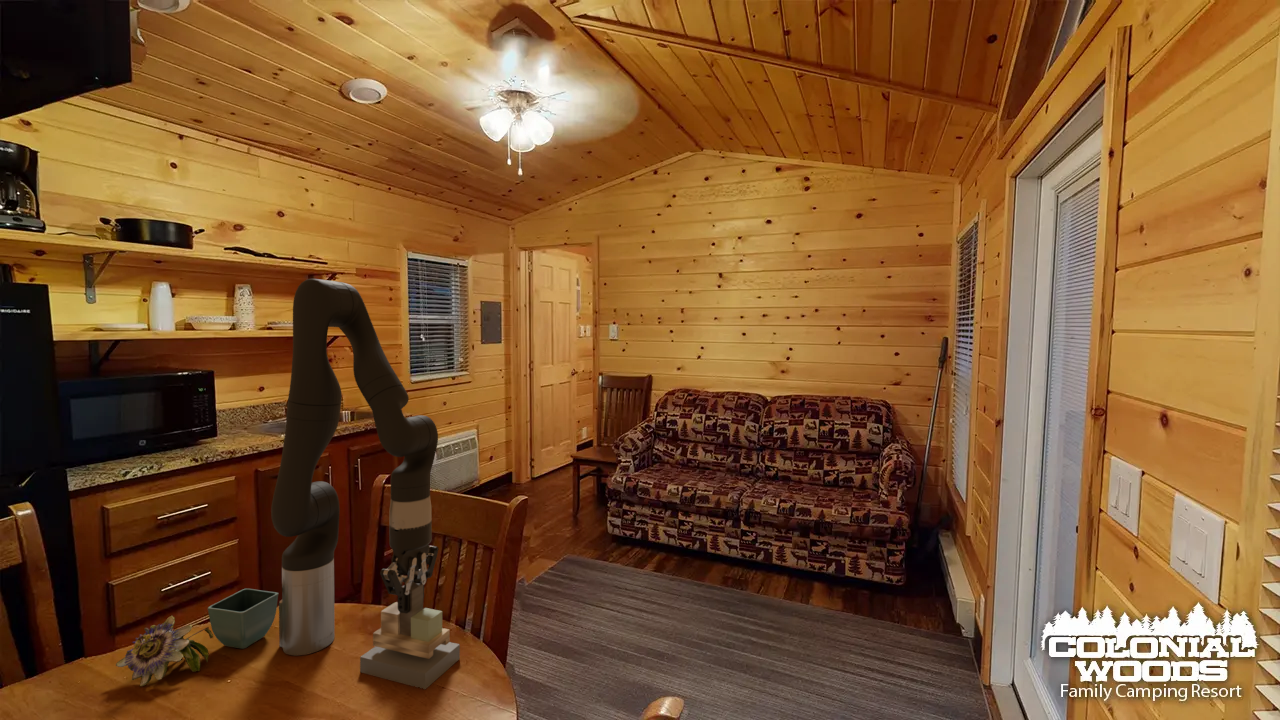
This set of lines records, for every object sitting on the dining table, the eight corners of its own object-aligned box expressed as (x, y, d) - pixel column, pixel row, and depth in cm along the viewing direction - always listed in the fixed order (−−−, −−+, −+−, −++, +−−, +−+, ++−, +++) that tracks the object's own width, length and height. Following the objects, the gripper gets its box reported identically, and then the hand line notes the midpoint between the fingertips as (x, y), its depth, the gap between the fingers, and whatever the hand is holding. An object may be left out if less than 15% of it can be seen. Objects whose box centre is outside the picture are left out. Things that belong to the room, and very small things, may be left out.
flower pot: (243, 656, 109) (242, 612, 108) (206, 650, 111) (205, 607, 110) (280, 633, 117) (279, 592, 117) (246, 628, 119) (245, 587, 119)
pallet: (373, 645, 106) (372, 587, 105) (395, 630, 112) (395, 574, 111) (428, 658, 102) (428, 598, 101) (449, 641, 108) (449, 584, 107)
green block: (410, 638, 104) (410, 617, 104) (425, 627, 108) (425, 607, 108) (428, 642, 103) (428, 621, 103) (442, 631, 107) (442, 611, 107)
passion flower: (147, 712, 100) (95, 669, 97) (186, 666, 111) (141, 626, 108) (197, 679, 100) (147, 635, 97) (232, 636, 111) (188, 595, 107)
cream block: (381, 631, 106) (380, 611, 106) (396, 621, 110) (396, 601, 110) (397, 635, 105) (397, 614, 105) (412, 624, 109) (412, 605, 109)
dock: (360, 672, 104) (360, 656, 104) (398, 644, 114) (398, 630, 114) (425, 689, 100) (425, 673, 100) (459, 658, 109) (459, 644, 109)
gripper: (420, 507, 113) (420, 589, 114) (366, 529, 100) (367, 622, 101) (450, 511, 111) (450, 594, 112) (400, 534, 98) (400, 629, 99)
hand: (411, 607), depth 106 cm, fingers closed on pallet, 3 cm apart
